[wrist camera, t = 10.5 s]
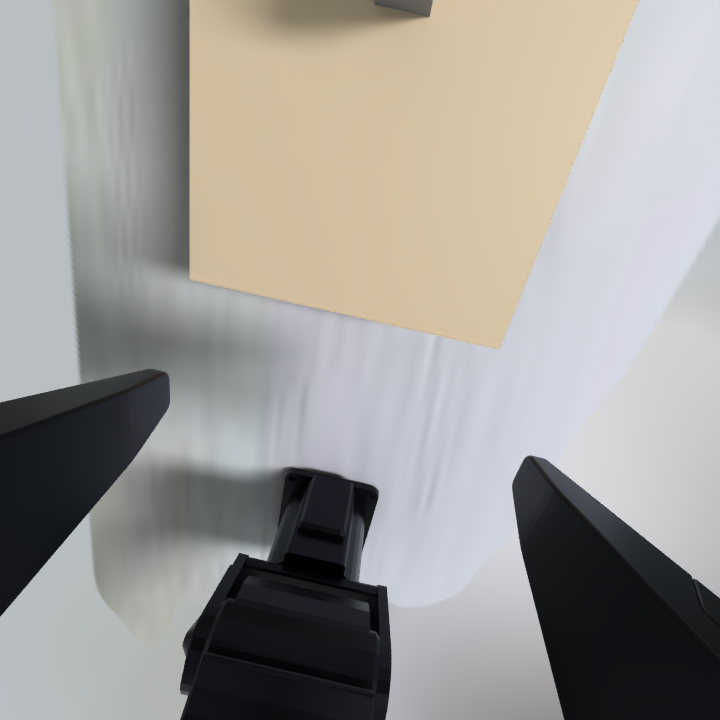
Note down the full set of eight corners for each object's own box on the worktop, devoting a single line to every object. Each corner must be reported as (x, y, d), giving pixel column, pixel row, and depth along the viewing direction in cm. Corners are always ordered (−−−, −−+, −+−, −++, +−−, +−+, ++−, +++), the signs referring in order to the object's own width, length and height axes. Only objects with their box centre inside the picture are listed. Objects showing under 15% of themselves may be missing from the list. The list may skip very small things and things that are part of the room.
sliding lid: (495, 343, 15) (537, 409, 10) (197, 276, 15) (108, 312, 10) (664, -86, 10) (903, -339, 5) (201, -187, 10) (24, -528, 5)
